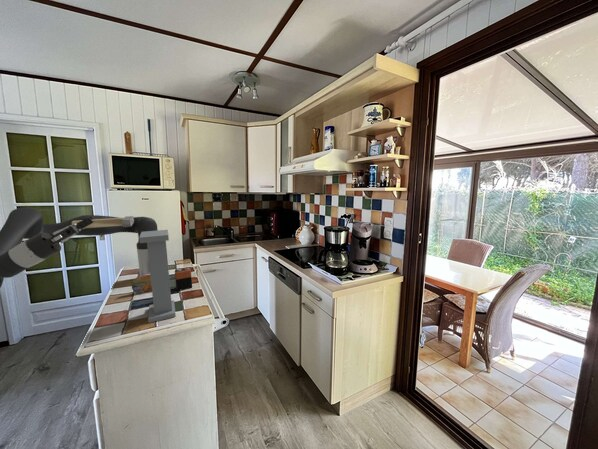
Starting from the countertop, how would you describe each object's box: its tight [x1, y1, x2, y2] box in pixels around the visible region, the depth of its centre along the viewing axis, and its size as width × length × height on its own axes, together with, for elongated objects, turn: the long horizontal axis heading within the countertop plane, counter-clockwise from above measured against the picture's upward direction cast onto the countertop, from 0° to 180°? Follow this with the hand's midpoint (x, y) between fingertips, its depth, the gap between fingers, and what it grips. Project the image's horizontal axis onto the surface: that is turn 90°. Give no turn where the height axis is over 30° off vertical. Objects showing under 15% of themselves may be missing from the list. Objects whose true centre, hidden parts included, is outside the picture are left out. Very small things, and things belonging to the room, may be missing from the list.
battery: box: [174, 266, 193, 291], centre depth 122 cm, size 4×7×10 cm, turn 123°
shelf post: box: [138, 229, 177, 324], centre depth 97 cm, size 12×9×32 cm
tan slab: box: [72, 215, 134, 228], centre depth 86 cm, size 10×16×2 cm, turn 118°
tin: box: [131, 274, 152, 295], centre depth 119 cm, size 15×3×8 cm, turn 123°
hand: (92, 219), depth 84 cm, fingers closed on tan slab, 2 cm apart
